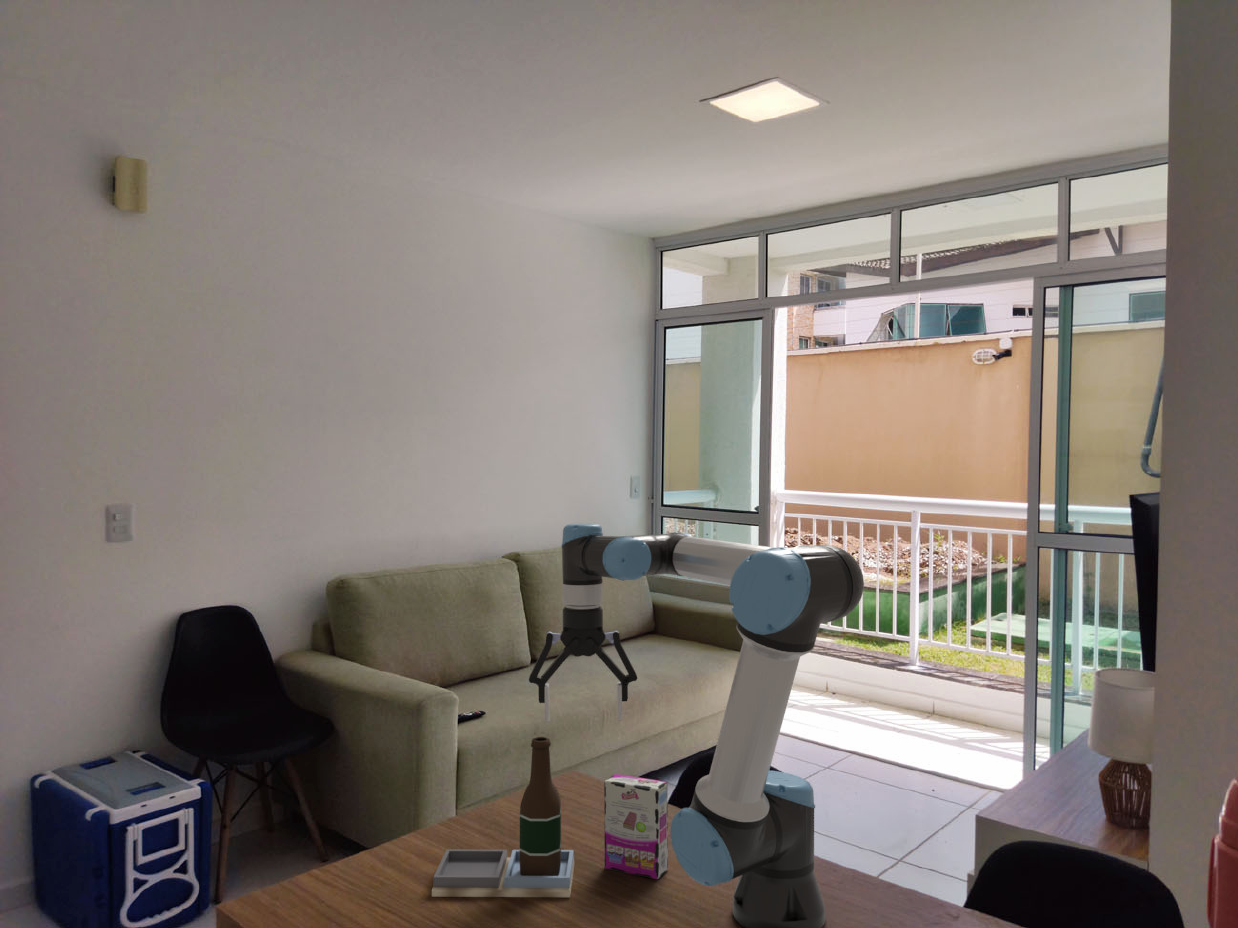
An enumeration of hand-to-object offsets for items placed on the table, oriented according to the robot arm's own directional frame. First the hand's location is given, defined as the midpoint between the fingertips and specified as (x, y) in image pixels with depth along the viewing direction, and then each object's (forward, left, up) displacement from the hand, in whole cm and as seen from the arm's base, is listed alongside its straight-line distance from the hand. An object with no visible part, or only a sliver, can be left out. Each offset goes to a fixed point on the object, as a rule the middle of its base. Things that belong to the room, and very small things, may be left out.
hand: (583, 719), depth 166 cm
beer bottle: (+3, +9, -26) cm, 28 cm away
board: (+8, +13, -27) cm, 31 cm away
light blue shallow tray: (+3, +9, -26) cm, 28 cm away
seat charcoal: (+13, +16, -26) cm, 33 cm away
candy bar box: (-9, -4, -28) cm, 29 cm away
